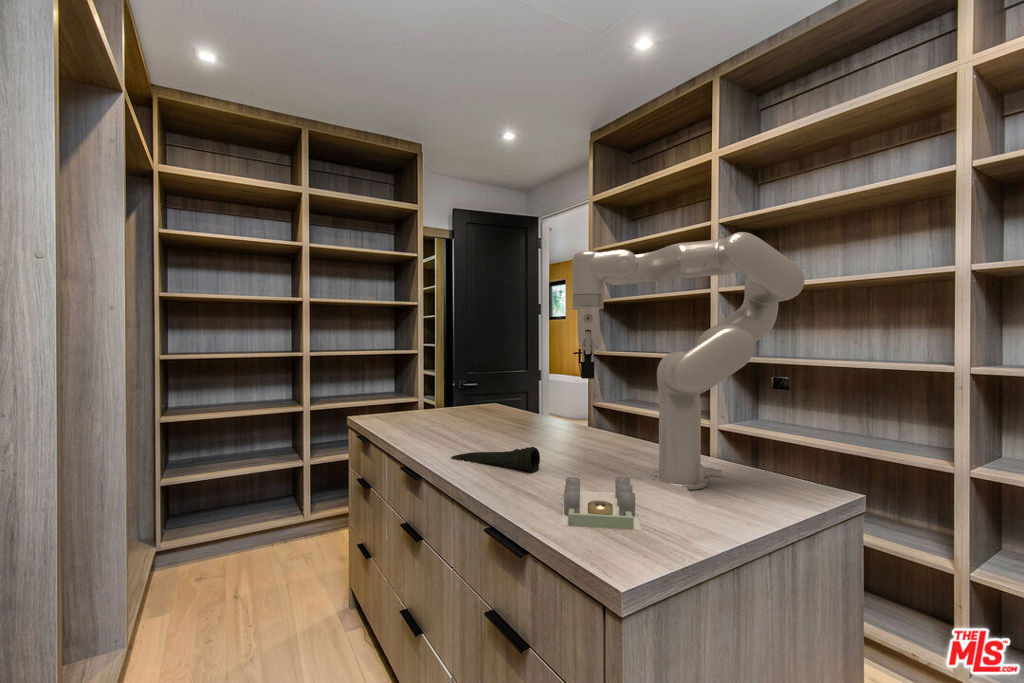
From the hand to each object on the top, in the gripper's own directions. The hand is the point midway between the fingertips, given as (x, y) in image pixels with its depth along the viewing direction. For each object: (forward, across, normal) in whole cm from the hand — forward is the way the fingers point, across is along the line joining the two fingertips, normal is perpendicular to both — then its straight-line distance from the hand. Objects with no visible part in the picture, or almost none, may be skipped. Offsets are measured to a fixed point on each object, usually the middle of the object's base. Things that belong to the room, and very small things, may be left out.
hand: (587, 378), depth 117 cm
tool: (+26, +11, +26) cm, 38 cm away
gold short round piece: (+24, -28, -2) cm, 37 cm away
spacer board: (+25, -22, -2) cm, 33 cm away
